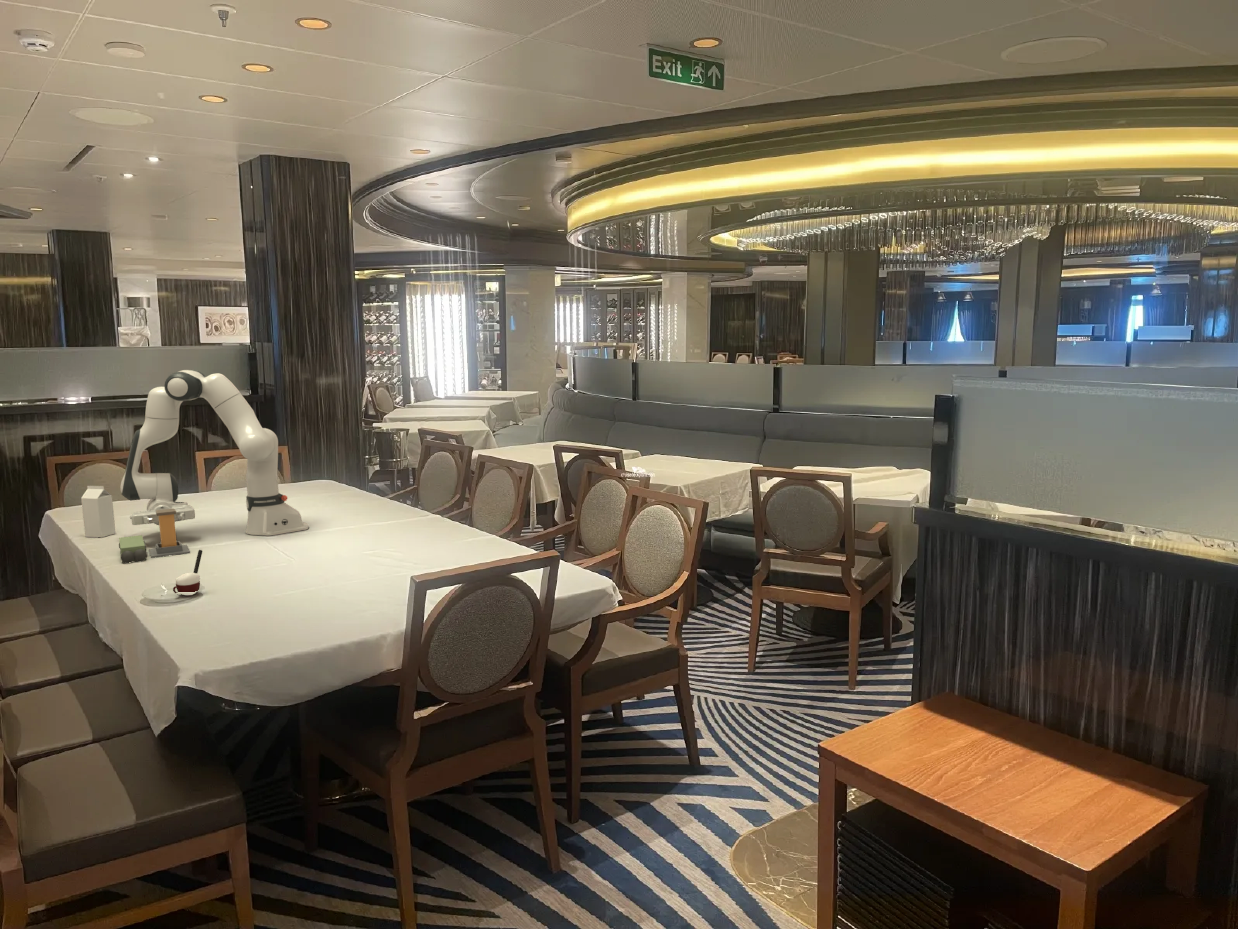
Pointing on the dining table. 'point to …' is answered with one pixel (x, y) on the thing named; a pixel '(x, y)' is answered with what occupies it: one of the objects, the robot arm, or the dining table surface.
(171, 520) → the orange tall block
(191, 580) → the cocoa
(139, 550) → the green dark block
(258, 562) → the dining table surface
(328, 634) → the dining table surface
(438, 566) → the dining table surface
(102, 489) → the milk carton
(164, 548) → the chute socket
